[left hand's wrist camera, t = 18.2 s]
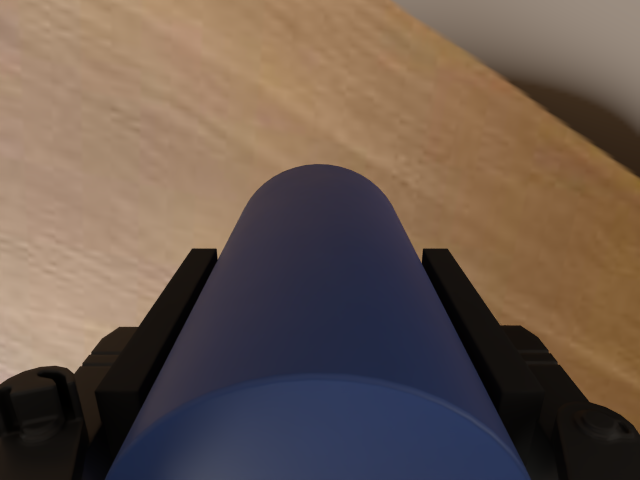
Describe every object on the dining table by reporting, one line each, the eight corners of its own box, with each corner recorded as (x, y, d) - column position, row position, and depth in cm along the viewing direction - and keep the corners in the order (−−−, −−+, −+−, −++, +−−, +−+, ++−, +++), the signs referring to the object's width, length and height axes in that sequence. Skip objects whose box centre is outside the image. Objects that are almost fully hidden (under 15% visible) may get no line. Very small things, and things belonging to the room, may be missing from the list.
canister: (283, 132, 16) (200, 288, 5) (433, 213, 17) (643, 494, 6) (210, 274, 18) (35, 614, 7) (348, 339, 19) (389, 722, 8)
